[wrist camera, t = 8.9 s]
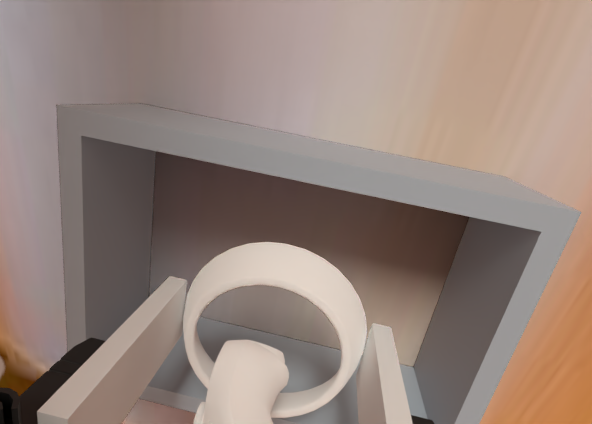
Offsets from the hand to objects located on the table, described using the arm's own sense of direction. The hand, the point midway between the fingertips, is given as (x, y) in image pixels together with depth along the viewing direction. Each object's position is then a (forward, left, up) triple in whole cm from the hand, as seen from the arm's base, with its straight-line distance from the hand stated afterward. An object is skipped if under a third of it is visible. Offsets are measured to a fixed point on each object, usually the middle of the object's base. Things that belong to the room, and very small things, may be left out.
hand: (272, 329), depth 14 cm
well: (0, 0, -7) cm, 7 cm away
